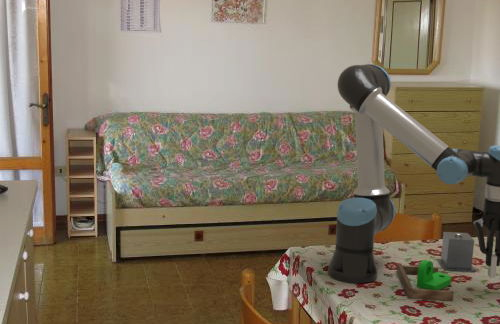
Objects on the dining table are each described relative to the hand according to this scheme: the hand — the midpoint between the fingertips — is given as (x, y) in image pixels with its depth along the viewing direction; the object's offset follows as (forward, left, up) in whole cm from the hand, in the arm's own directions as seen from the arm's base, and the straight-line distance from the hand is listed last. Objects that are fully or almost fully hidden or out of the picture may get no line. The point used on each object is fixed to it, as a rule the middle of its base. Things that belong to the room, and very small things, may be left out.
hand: (491, 276), depth 199 cm
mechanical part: (-16, +2, -5) cm, 16 cm away
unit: (-5, +20, -4) cm, 21 cm away
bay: (-20, 0, -4) cm, 20 cm away
